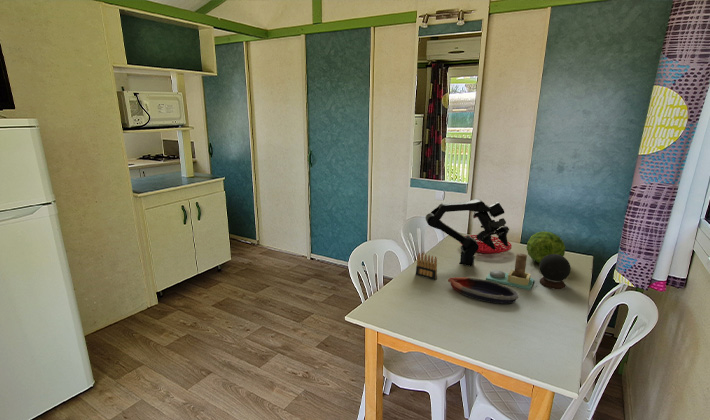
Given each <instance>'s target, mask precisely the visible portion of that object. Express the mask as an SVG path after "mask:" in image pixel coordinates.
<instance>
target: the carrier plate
mask: <svg viewBox="0 0 710 420" xmlns="http://www.w3.org/2000/svg"><path fill="white" fill-rule="evenodd" d="M514 272H515V269H514V270H513V269H510V271H509V273H508V272H504V271H503V270H500V269H499V270H498V269H491V270H490V272H489V273H488V274H487V276H486V278H485V280H487V281H491V282H494V283H498V284H501V285H505V286H511V287H515V288H519V289H523V290H527V291H531V289H532V287H533V283H534V281H535V278H533V277H531V273H528V272H526V271H525V276H524V278H520V277H515V276H514Z"/></svg>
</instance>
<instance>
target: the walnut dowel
mask: <svg viewBox="0 0 710 420" xmlns="http://www.w3.org/2000/svg"><path fill="white" fill-rule="evenodd" d="M527 258H528V255H527V254H525V253H516V256H515V263H514V270H515V272H514V276H515V277H520V278H524V276H525V272H526V265H527Z"/></svg>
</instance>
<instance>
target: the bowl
mask: <svg viewBox="0 0 710 420" xmlns="http://www.w3.org/2000/svg"><path fill="white" fill-rule="evenodd" d="M468 235H469V236H470V237H472V238H474V239H475V240H476V241H477V244H478V245H479V249H478V250H477V251H476V252H477V253H481V254H488V255H489V254H499V253H506V252H508V251H510V250H511V249H512V244H511V243H510V242H509V241H508V240H507V242H508V246H507V247H506V246H505V245H504V244H503V243H502V242H501V240H500V239H499V238H498V236H497V237H496V236H494V235H491V240H492V242H493V244H494V246H495V248H496V249H495V250H494V249H492V248H491V247H489V246H488V245H487V244H485V243H483V242H482V241H480V240H479V241H478V239H477V238H476V237H477V234H468ZM465 236H466V237H467V235H465ZM460 244H461V245H460V246H462V245H463V244H462V243H460Z"/></svg>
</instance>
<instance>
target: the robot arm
mask: <svg viewBox="0 0 710 420" xmlns="http://www.w3.org/2000/svg"><path fill="white" fill-rule="evenodd" d="M462 211H463V212H465V211H468V212H469V211H470V212H473V215H472V218H473V219H476V218H477V219H478V221H479V222H480V224H481V226H480V228H481V229H483V230H481V231H480V232H479V233H477V234H476V235H477V237H476V238H477V239H478V240H475V239H476V238H472V237H473V236H472V237H471V236H469V235H470V234H467V235H463V234H461V233H460V232H458V231H457V230H456V229H454V228H453V227H450V226H449V225H448V224H446V223H445V222H443V221H442V220H441V219H442V218H443V216H444V215H445V213H451V212H462ZM504 214H505V209H504V208H503V207H502V205H501V204H500V202H499V201H497V202H495V203H493V204H491V205H488V204H486V203H485V202H484V201H482V200H481V199H479V198H476V199H475V198H474V199H471V200H469V201H465V202H463V201H462V202H453V203H452V202H451V203H450V202H449V203H442V202H441V203H440V204H439V205H438V206H436V208H434V209H432V210H431V212H430V213H429V212H428V213H427V214H426V215H425V221H426V223H427V225H428V226H429V227H432V228H434V229H437V230H440V231H442V232H443V233H445V234H447V235H448V236H449V237H451V238H452V239H454V240H456V241H457V242H459V244H461V243H462V244H463V245H460V248H459V249H460V250H461V252H460V259H459V263H458V264H459V265H463V266H466V267H472V266H473V265H474V264H475V258H476V257H475V254H476V252H477V250H478V249H479V245H478V244H477V241H479V240H480V241H481V242H483V243H485V244H487V245H488V246H489V247H491V248H492V249H494V250H495V249H496V248H495V246H494V244H493V243H494V242H492V240H491V239H492V237H491V236H494V235H496V236H497V238H499V239H498V240H501V242H502V243H503V244H504V245H505V246H506V247H507V246H508V244H509V243H508V242H509V241H508V237H507V235H508V233H509V231H510V228H509V226H507V225H506V224H507V221H506V220H505V218H504V217H503V218H499V219H498V220H495V218H498V217H499V216H502V215H504ZM492 218H494V219H492ZM466 236H467V237H466ZM480 241H479V242H480ZM507 241H508V242H507ZM502 243H501V244H502ZM504 245H503V246H504Z"/></svg>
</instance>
